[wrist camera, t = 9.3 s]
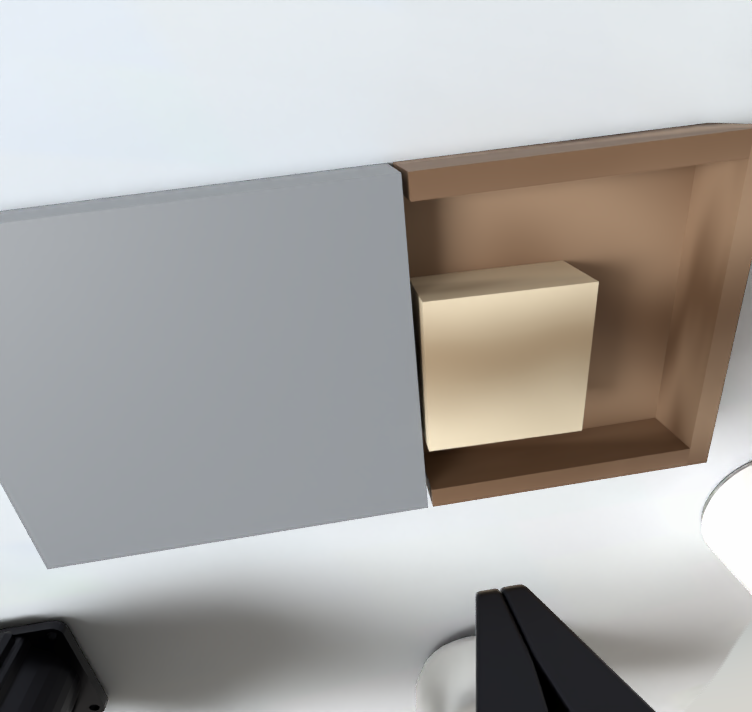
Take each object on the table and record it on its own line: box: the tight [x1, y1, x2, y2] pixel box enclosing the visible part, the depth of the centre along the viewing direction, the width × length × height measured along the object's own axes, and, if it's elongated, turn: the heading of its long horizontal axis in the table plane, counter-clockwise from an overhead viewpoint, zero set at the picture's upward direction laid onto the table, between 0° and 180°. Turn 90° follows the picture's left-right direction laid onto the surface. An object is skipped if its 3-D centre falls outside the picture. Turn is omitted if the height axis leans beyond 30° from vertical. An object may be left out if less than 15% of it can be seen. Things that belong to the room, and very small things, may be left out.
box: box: [393, 123, 752, 507], centre depth 18 cm, size 12×11×3 cm
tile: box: [410, 261, 599, 451], centre depth 18 cm, size 6×6×2 cm
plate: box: [0, 163, 428, 569], centre depth 18 cm, size 12×14×3 cm
